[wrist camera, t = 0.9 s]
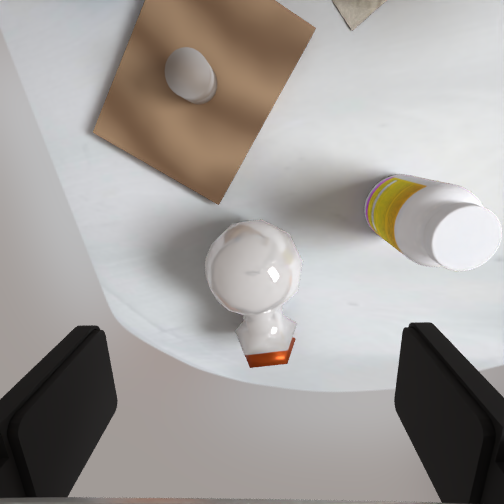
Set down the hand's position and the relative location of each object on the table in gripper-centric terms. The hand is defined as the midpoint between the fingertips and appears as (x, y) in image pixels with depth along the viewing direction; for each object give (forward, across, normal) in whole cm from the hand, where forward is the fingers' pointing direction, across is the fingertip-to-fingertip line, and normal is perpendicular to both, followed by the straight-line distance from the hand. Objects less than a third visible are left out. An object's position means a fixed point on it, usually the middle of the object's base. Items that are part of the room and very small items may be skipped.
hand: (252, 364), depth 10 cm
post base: (+26, +6, -12) cm, 29 cm away
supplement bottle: (+26, -14, 0) cm, 30 cm away
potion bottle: (+26, 0, +8) cm, 28 cm away
